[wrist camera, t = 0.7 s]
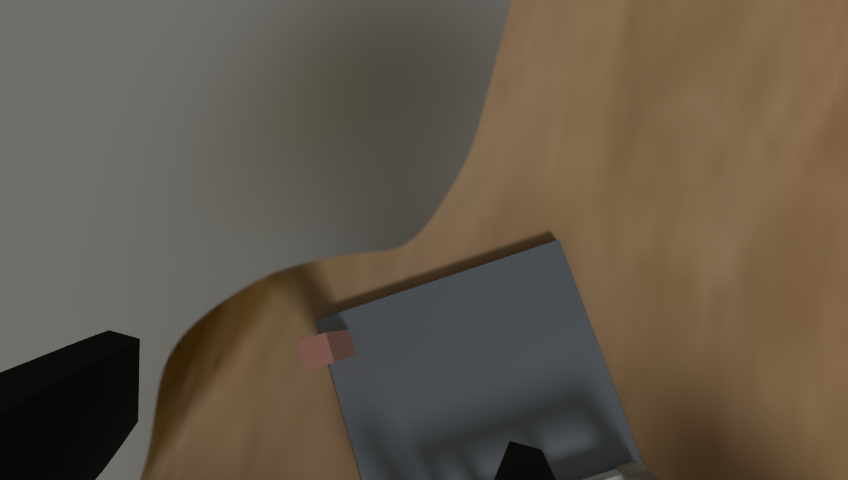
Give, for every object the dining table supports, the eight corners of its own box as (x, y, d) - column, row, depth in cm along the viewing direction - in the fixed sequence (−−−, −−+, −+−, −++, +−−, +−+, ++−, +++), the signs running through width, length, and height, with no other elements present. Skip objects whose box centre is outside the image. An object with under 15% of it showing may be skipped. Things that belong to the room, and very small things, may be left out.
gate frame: (687, 588, 28) (760, 675, 22) (419, 672, 29) (406, 785, 22) (556, 240, 32) (583, 220, 25) (318, 319, 32) (280, 321, 25)
